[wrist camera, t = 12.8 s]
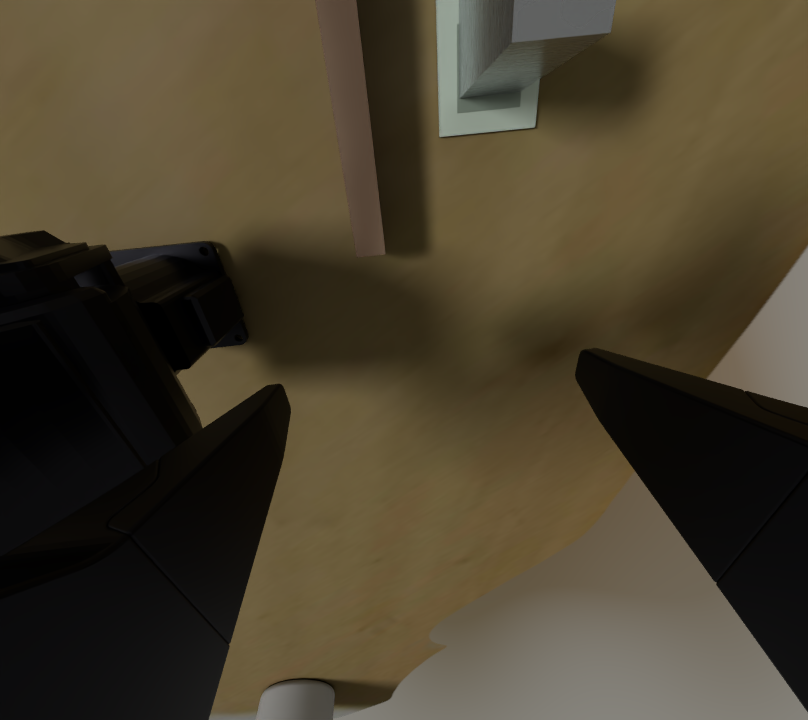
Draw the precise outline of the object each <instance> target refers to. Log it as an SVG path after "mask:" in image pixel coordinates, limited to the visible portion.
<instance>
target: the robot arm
mask: <svg viewBox="0 0 808 720" xmlns="http://www.w3.org/2000/svg"><path fill="white" fill-rule="evenodd" d="M203 247H205V248H207V249H208V251H209V254H208V255H207V254H205V253H204V251H203ZM243 316H244V314H243V312H242V309H241V306H240V304H239V301H238V298H237V295H236V293H235V290H234V287H233V285H232V282H231V279H230V278H229V277H228V276H226V274H225V272H224V269H223V266H222V264H221V261H220V258H219V256H218V253H217V250H216V248H215V247H214V245H213V244H212V243H210V242H208V241H200V242H191V243H181V244H172V245H162V246H153V247H144V248H134V249H125V250H115V251H109V250H108V248H107V246H106V245H95V246H88V245H87V243H86V242H84V243H71V244H70V243H65V242H63V241H62V240H60V239H58V238H56V237H55V236H53V235H51V234H49V233H48V232H46V231H34V232H25V233H19V234H12V235H5V236H0V720H209V716H210V713H211V709H212V706H213V702H214V699H215V695H216V692H217V688H218V685H219V681H220V678H221V674H222V671H223V668H224V664H225V661H226V657H227V654H228V650H229V643H230V642H231V639H232V635H233V632H234V628H235V625H236V621H237V618H238V615H239V611H240V608H241V604H242V601H243V597H244V594H245V590H246V587H247V583H248V580H249V576H250V573H251V569H252V566H253V562H254V559H255V555H256V552H257V548H258V545H259V542H260V538H261V535H262V531H263V528H264V524H265V521H266V517H267V514H268V510H269V507H270V503H271V500H272V496H273V493H274V489H275V486H276V482H277V479H278V476H279V472H280V469H281V465H282V461H283V457H284V452H285V446H286V440H287V434H288V427H289V421H290V415H291V408H290V404H289V401H288V398H287V395H286V392H285V389H284V387H283V386H282V385H281V384H273V385H267V386H265V387H264V388H262V389H261V390H259V391H258V392H256V393H255V394H253V395H252V396H250V397H249V398H247V399H246V400H244V401H243V402H242V403H240V404H239V405H237V406H236V407H234V408H233V409H231V410H230V411H228V412H227V413H225V414H224V415H222V416H221V417H219V418H218V419H216V420H215V421H213V422H212V423H210V424H209V425H207V426H206V427H204V428H202V424H201V421H200V418H199V416H198V414H197V412H196V409H195V407H194V406H193V404H192V403H191V401H190V400H189V398H188V396H187V394H186V392H185V390H184V389H183V387H182V385H181V383H180V381H179V380H178V378H177V376H176V375H177V374H178V373H179V372H180V371H181V370H183V369H189V368H190V367H191V366H192V365H193V364H194V363H195V362H196V361H197V360H198V359H199V358H200V357H201V356H203V355H204V354H205V353H206V352H207V351H208V350H209V349H210V348H217V347H226V346H235V345H242V344H244V343H245V342H246V341H247V340H248V338H249V336H248V332H247V330H246V327H245V324H244V322H243V319H242V318H243ZM237 335H241V336H242V338H243V339H240V338H238V337H237ZM575 377H576V381H577V383H578V384H579V386H580V388H581V390H582V391H583V393H584V395H585V397H586V399H587V400H588V402H589V404H590V406H591V407H592V409H593V411H594V413H595V414H596V416H597V418H598V419H599V421H600V423H601V424H602V425H603V427H604V428H605V430H606V431H607V433H608V434H609V435H610V437H611V438H612V440H613V441H614V442H615V444H616V445H617V446H618V448H619V449H620V451H621V452H622V453H623V455H624V456H625V458H626V459H627V460H628V462H629V463H630V465H631V466H632V467H633V469H634V470H635V472H636V473H637V474H638V476H639V477H640V479H641V480H642V481H643V483H644V484H645V486H646V487H647V488H648V490H649V491H650V492H651V494H652V495H653V497H654V498H655V499H656V501H657V502H658V503H659V505H660V506H661V508H662V509H663V511H664V512H665V513H666V515H667V516H668V518H669V519H670V520H671V522H672V523H673V525H674V526H675V527H676V529H677V530H678V531H679V533H680V534H681V536H682V537H683V538H684V540H685V541H686V543H687V544H688V545H689V547H690V548H691V550H692V551H693V552H694V554H695V555H696V557H697V558H698V559H699V561H700V562H701V563H702V565H703V566H704V568H705V569H706V570H707V572H708V573H709V575H710V576H711V577H712V579H713V580H714V581H715V582H717V584H716V585H717V586H718V588H719V589H720V590H721V592H722V593H723V595H724V596H725V597H726V599H727V600H728V602H729V603H730V604H731V606H732V607H733V609H734V610H735V611H736V613H737V614H738V615H739V617H740V618H741V620H742V621H743V623H744V624H745V625H746V627H747V628H748V629H749V631H750V632H751V634H752V635H753V636H754V638H755V639H756V641H757V642H758V643H759V645H760V646H761V648H762V649H763V650H764V652H765V653H766V655H767V656H768V657H769V659H770V660H771V662H772V663H773V664H774V666H775V667H776V669H777V670H778V671H779V673H780V674H781V676H782V677H783V678H784V680H785V681H786V683H787V684H788V685H789V687H790V688H791V689H792V691H793V692H794V694H795V695H796V696H797V698H798V699H799V701H800V702H801V703H802V705H803V706H804V708H805V709H806V710H807V712H808V408H807V407H803V406H799V405H795V404H792V403H788V402H785V401H781V400H777V399H774V398H770V397H766V396H763V395H759V394H756V393H752V392H749V391H745V392H744V391H743V390H741V389H738V388H735V387H731V386H727V385H724V384H721V383H717V382H713V381H710V380H707V379H703V378H700V377H696V376H693V375H689V374H686V373H682V372H679V371H675V370H672V369H668V368H665V367H661V366H658V365H654V364H651V363H647V362H644V361H640V360H637V359H633V358H630V357H626V356H623V355H619V354H616V353H612V352H609V351H605V350H602V349H598V348H592V349H584V350H582V351H581V352H580V354H579V358H578V363H577V367H576V372H575Z"/></svg>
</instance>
